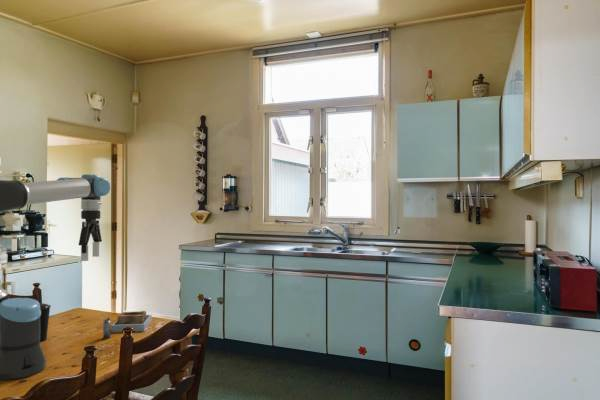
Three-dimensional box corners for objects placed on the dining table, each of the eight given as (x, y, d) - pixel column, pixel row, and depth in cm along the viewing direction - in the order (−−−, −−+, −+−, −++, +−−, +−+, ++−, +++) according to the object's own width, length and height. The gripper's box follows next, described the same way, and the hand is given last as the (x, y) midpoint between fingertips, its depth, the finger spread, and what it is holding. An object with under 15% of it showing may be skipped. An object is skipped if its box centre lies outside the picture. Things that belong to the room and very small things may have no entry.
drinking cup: (53, 340, 171) (53, 291, 171) (31, 344, 165) (32, 294, 165) (47, 336, 176) (47, 288, 176) (26, 340, 170) (26, 291, 170)
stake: (109, 339, 172) (109, 319, 172) (101, 339, 172) (102, 319, 172) (111, 336, 176) (111, 317, 176) (104, 336, 176) (104, 317, 176)
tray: (144, 331, 183) (144, 324, 183) (111, 332, 181) (111, 325, 181) (151, 321, 198) (151, 314, 198) (121, 322, 197) (121, 315, 197)
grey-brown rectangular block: (117, 327, 185) (118, 314, 185) (122, 322, 193) (122, 309, 193) (142, 326, 187) (142, 313, 187) (146, 322, 194) (146, 309, 194)
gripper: (89, 210, 171) (89, 262, 171) (109, 209, 196) (108, 254, 195) (70, 210, 170) (69, 262, 170) (92, 209, 195) (91, 254, 194)
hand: (90, 258), depth 183 cm, fingers open, 13 cm apart
